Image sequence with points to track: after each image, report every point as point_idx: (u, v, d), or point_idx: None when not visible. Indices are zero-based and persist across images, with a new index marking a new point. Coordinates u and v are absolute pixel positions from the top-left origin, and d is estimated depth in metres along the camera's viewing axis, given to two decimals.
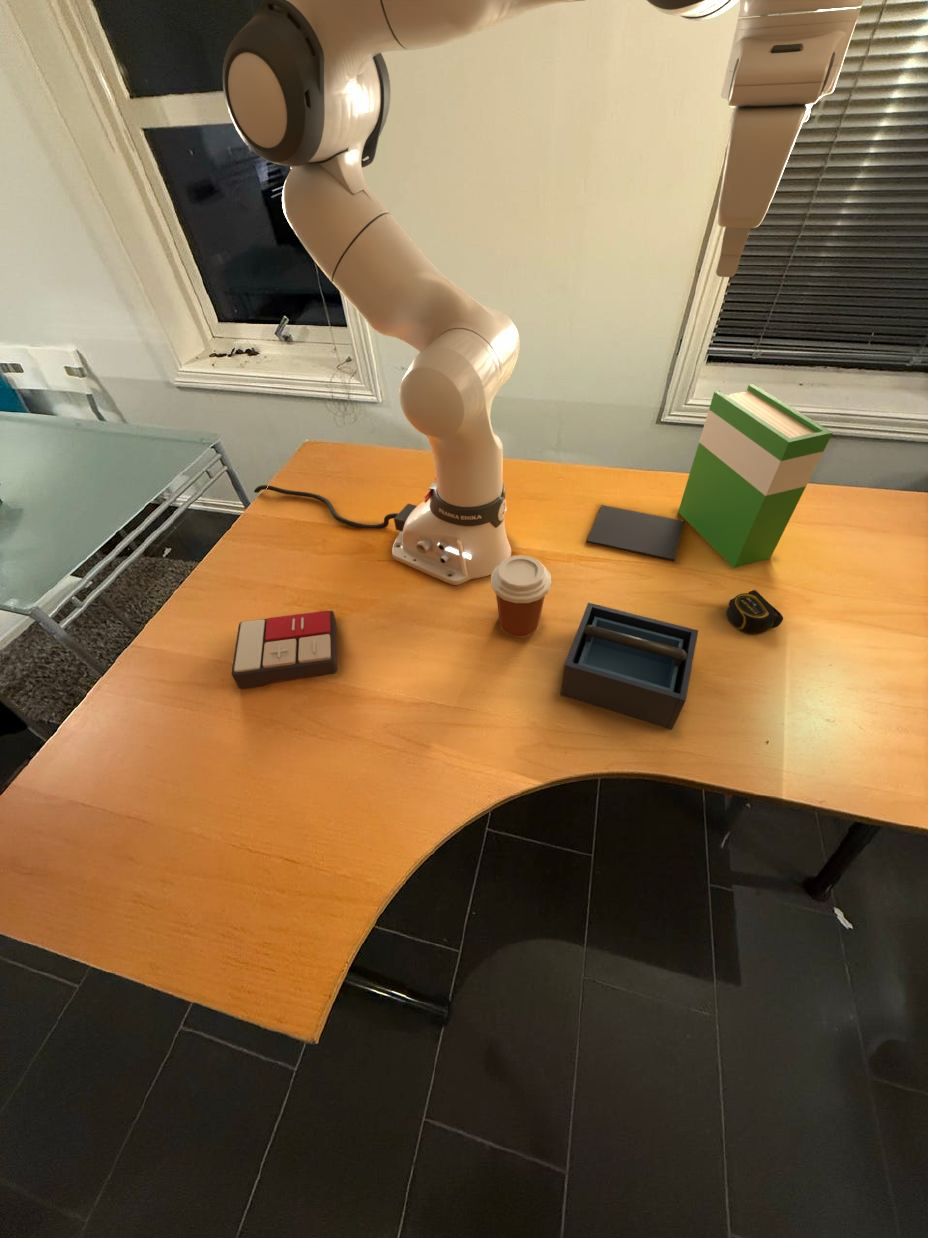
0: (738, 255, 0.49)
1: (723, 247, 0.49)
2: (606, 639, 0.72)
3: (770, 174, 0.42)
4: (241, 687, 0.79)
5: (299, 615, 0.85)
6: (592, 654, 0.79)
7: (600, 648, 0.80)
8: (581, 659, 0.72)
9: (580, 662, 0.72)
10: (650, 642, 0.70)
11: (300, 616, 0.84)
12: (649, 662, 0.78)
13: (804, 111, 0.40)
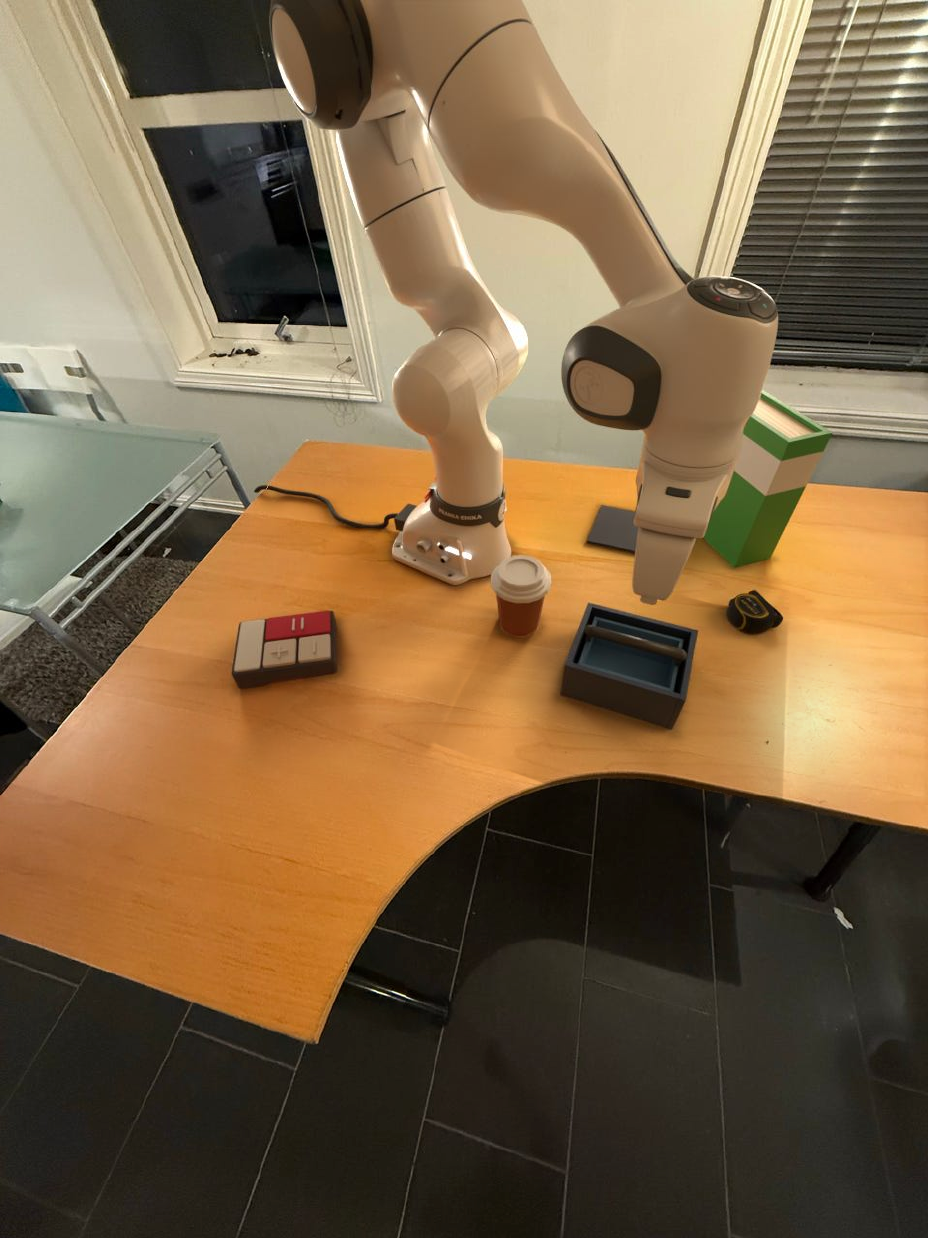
0: None
1: None
2: (606, 639, 0.72)
3: (670, 578, 0.50)
4: (241, 687, 0.79)
5: (299, 615, 0.85)
6: (592, 654, 0.79)
7: (600, 648, 0.80)
8: (581, 659, 0.72)
9: (580, 662, 0.72)
10: (650, 642, 0.70)
11: (300, 616, 0.84)
12: (649, 662, 0.78)
13: (694, 541, 0.48)
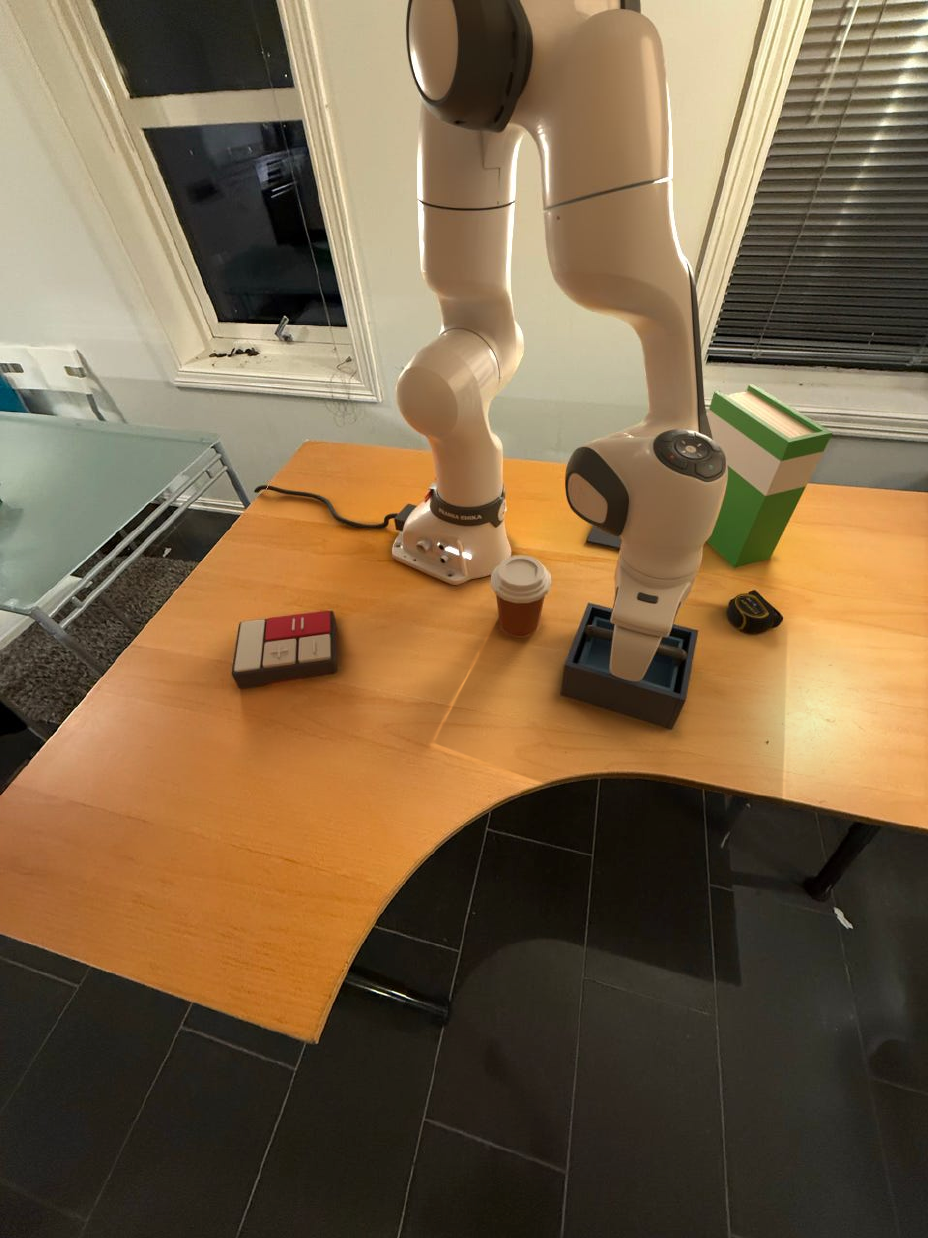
0: None
1: None
2: (606, 639, 0.72)
3: (640, 666, 0.59)
4: (241, 687, 0.79)
5: (299, 615, 0.85)
6: (592, 654, 0.79)
7: (600, 648, 0.80)
8: (581, 659, 0.72)
9: (580, 662, 0.72)
10: None
11: (300, 616, 0.84)
12: None
13: (660, 638, 0.57)
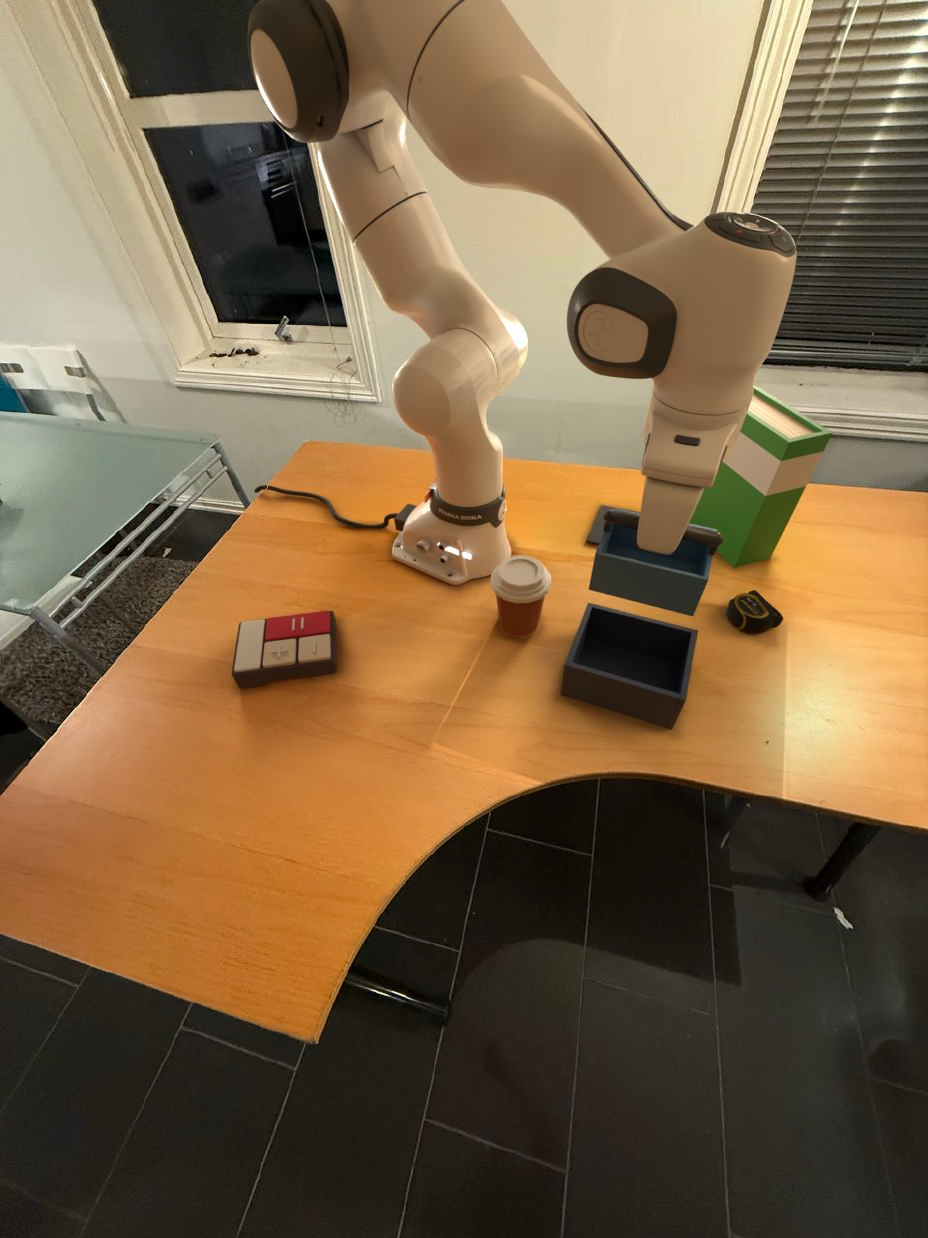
0: None
1: None
2: (629, 524, 0.62)
3: (676, 529, 0.49)
4: (241, 687, 0.79)
5: (299, 615, 0.85)
6: None
7: (619, 548, 0.70)
8: (599, 548, 0.62)
9: (598, 551, 0.62)
10: None
11: (300, 616, 0.84)
12: (675, 562, 0.68)
13: (701, 491, 0.47)
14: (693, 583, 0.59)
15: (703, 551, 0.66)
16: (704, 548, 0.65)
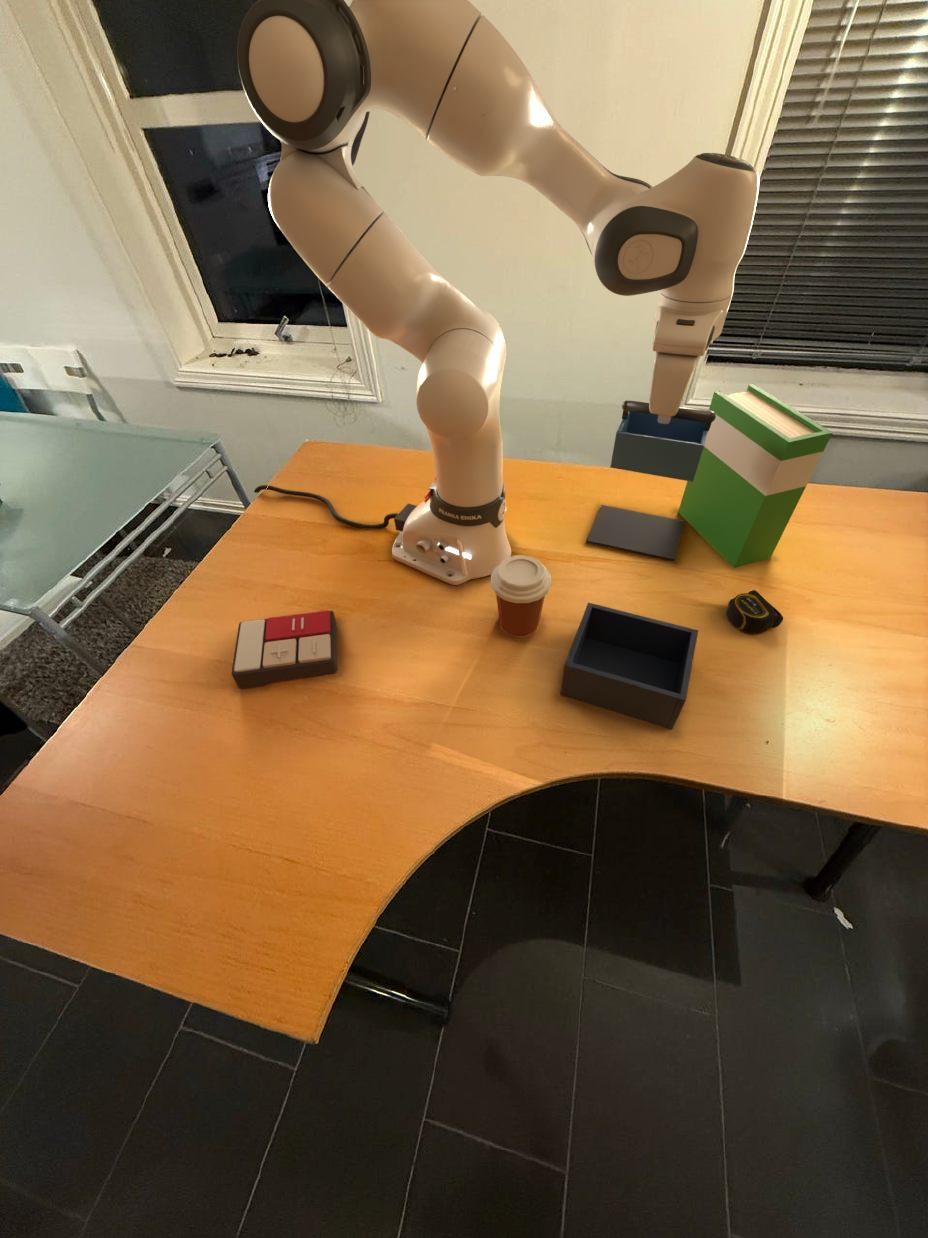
0: None
1: None
2: (642, 410, 0.79)
3: (678, 391, 0.67)
4: (241, 687, 0.79)
5: (299, 615, 0.85)
6: None
7: None
8: (619, 429, 0.80)
9: (618, 431, 0.79)
10: (682, 407, 0.78)
11: (300, 616, 0.84)
12: None
13: (696, 359, 0.65)
14: (692, 449, 0.76)
15: (700, 436, 0.83)
16: (701, 433, 0.83)
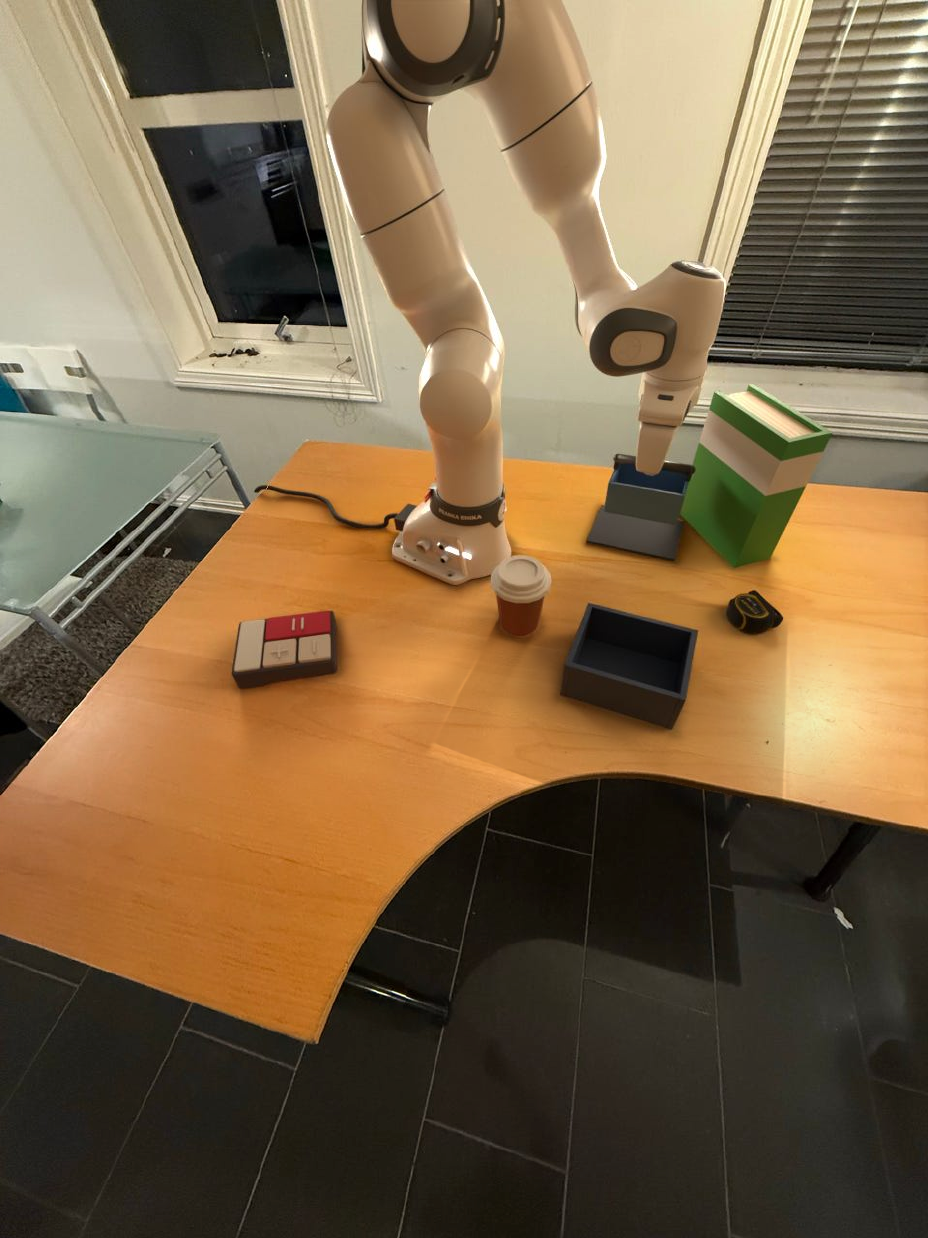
0: None
1: None
2: (631, 462, 0.90)
3: (660, 455, 0.77)
4: (241, 687, 0.79)
5: (299, 615, 0.85)
6: None
7: None
8: (611, 479, 0.90)
9: (610, 481, 0.90)
10: (666, 461, 0.88)
11: (300, 616, 0.84)
12: None
13: (675, 429, 0.76)
14: (675, 499, 0.87)
15: (683, 483, 0.94)
16: (684, 480, 0.94)
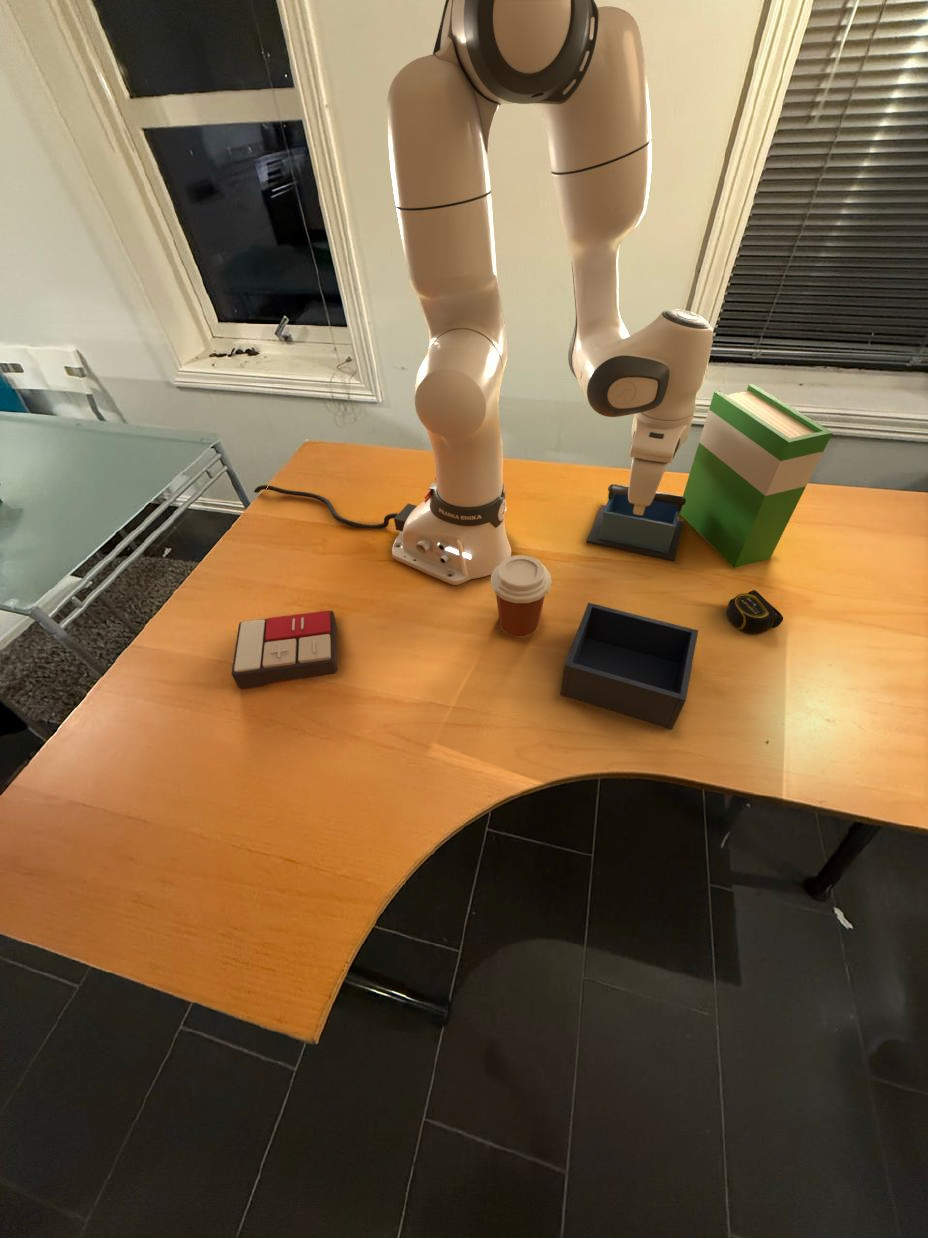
0: (643, 507, 0.89)
1: (635, 503, 0.89)
2: (624, 493, 0.94)
3: (651, 489, 0.82)
4: (241, 687, 0.79)
5: (299, 615, 0.85)
6: None
7: (618, 512, 1.03)
8: (605, 509, 0.95)
9: (605, 511, 0.94)
10: (658, 492, 0.93)
11: (300, 616, 0.84)
12: (657, 520, 1.01)
13: (665, 465, 0.80)
14: (666, 529, 0.91)
15: (675, 511, 0.99)
16: (675, 509, 0.98)
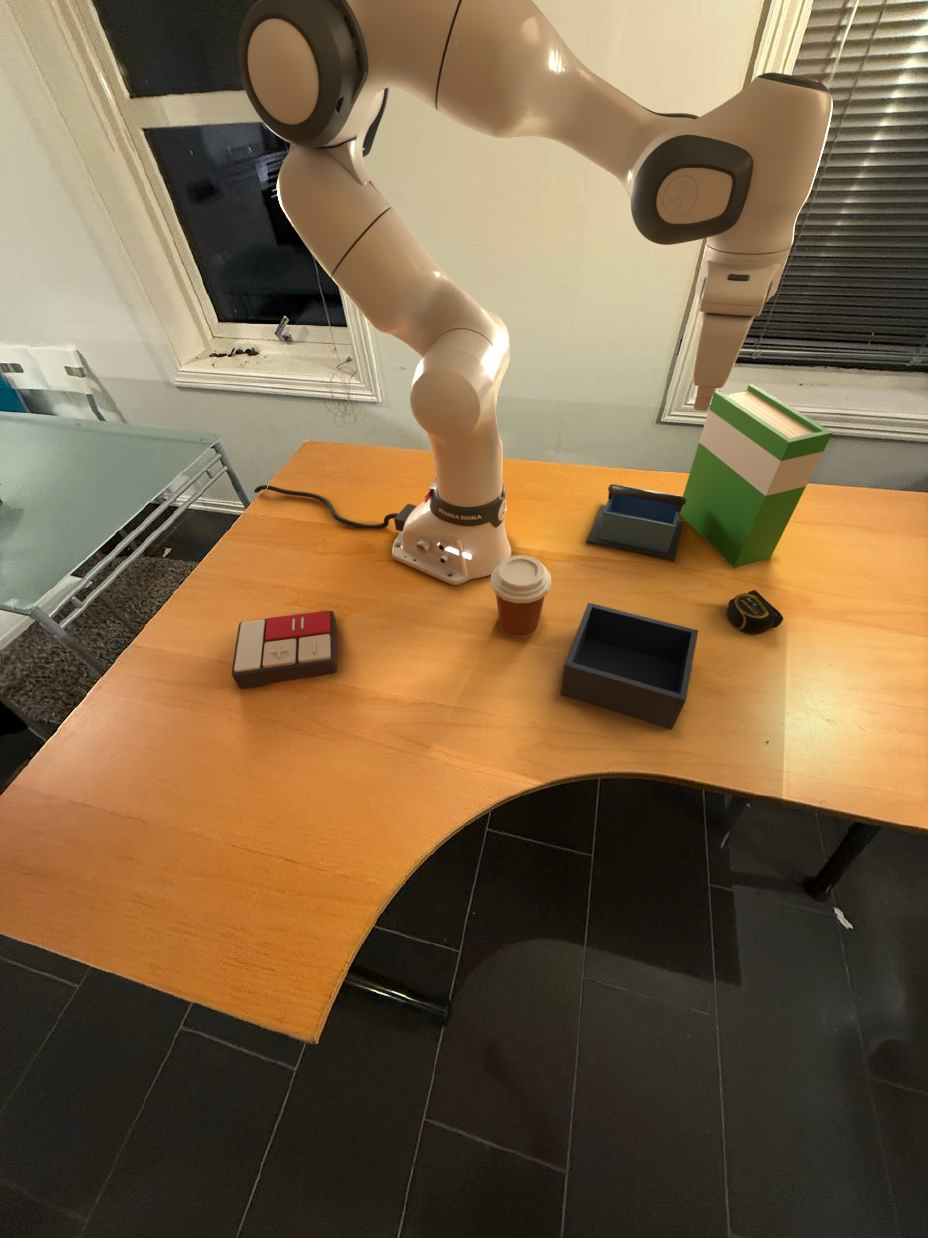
0: (709, 397, 0.66)
1: (698, 392, 0.66)
2: (624, 493, 0.94)
3: (728, 358, 0.58)
4: (241, 687, 0.79)
5: (299, 615, 0.85)
6: None
7: (618, 512, 1.03)
8: (605, 509, 0.95)
9: (605, 511, 0.94)
10: (658, 492, 0.93)
11: (300, 616, 0.84)
12: (657, 520, 1.01)
13: (751, 320, 0.57)
14: (666, 529, 0.91)
15: (675, 511, 0.99)
16: (675, 509, 0.98)
